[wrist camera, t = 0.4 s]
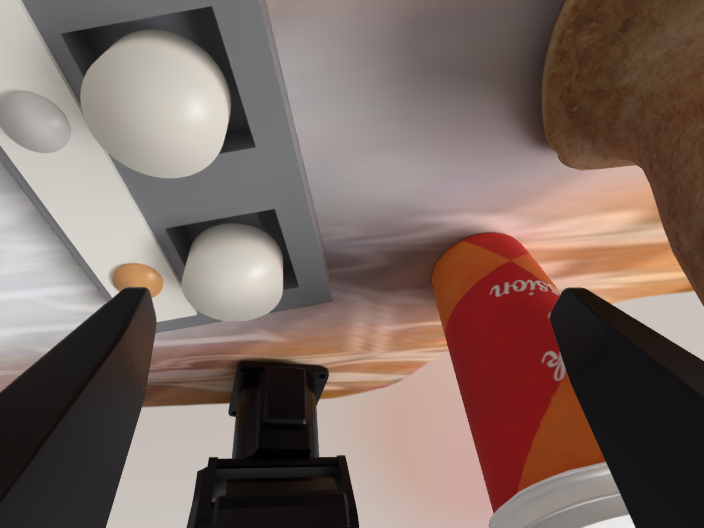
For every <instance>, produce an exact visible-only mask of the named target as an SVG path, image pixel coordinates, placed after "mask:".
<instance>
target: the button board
mask: <svg viewBox="0 0 704 528" xmlns="http://www.w3.org/2000/svg"><path fill="white" fill-rule="evenodd" d="M145 29H159V30H165V31H169V32H173V33H176V34H179V35H181V36H183V37H185V38H187V39H189V40H191V41H192V42H194V43H196V44H197V45H198V46H200V47H201V48H202V49H203V50H205V51H206V52H207V53H208V54H209V55H210V56H211V57H212V59H213V60H214V61H215V62H216V63H217V65H218V66H219V68H220V69H221V71H222V73H223V75H224V77H225V79H226V81H227V84H228V87H229V91H230V96H231V113H230V118H229V123H228V127H227V131H226V135H225V139H224V143H223V146H222V148H221V150H220V152H219V154H218V156H217V157H216V158H215V160H214V161H213V162H212V163H211V164H210V165H209V166H207V167H206V168H205V169H203V170H201V171H200V172H198V173H195V174H193V175H190V176H186V177H181V178H158V177H153V176H148V175H145V174H142V173H139V172H137V171H135V170H132V169H130V168H128V167H127V166H125V165H123V164H122V163H120V162H119V161H117V160H116V159H114V158H113V157H112V156H111V155H110V154H108V153H107V152H106V151H105V150H104V149H103V148H102V147H101V146H100V144H99V143H98V142H97V141H96V139H95V138H94V136H93V135H92V133H91V132H90V130H89V128H88V126H87V124H86V122H85V119H84V116H83V113H82V108H81V99H80V94H81V86H82V82H83V79H84V77H85V75H86V72H87V71H88V69H89V68H90V67H91V65H92V64H93V63H94V62H95V61H96V60H97V59H98V58H99V57H100V56H101V55H102V54H104V53H105V52H106V51H107V50H108V49H109V48H110V47H111V46H112V45H113V44H114V43H115V42H116V41H117V40H119V39H120V38H122V37H123V36H125V35H127V34H129V33H131V32H135V31H139V30H145ZM0 160H1V161H2V162H3V164H4V165H5V166H6V168H7V169H8V170H9V172H10V173H11V174H12V176H13V177H14V178H15V180H16V181H17V182H18V184H19V185H20V186H21V188H22V189H23V190H24V192H25V193H26V194H27V196H28V197H29V198H30V200H31V201H32V202H33V204H34V205H35V206H36V208H37V209H38V210H39V212H40V213H41V214H42V216H43V217H44V218H45V220H46V221H47V222H48V223H49V225H50V226H51V227H52V229H53V230H54V231H55V233H56V234H57V235H58V237H59V238H60V239H61V241H62V242H63V243H64V245H65V246H66V247H67V249H68V250H69V251H70V253H71V254H72V255H73V257H74V258H75V259H76V261H77V262H78V263H79V265H80V266H81V267H82V269H83V270H84V271H85V273H86V274H87V275H88V277H89V278H90V279H91V281H92V282H93V283H94V284H95V286H96V287H97V288H98V290H99V291H100V292H101V294H102V295H103V296H104V298H105V299H106V300H107V302H108V301H109V300H110V299H112V298H113V297H114V296H115V295H116V294H118V293H119V292H120V291H121V290H122V289H124V288H126V287H146V288H148V289H149V291H150V293H151V297H152V301H153V305H154V309H155V313H156V320H157V324H156V332H155V333H158V332H164V331H170V330H175V329H181V328H187V327H192V326H198V325H203V324H209V323H215V322H220V321H222V320H217V319H214V318H211V317H209V316H206V315H204V314H202V313H200V312H199V311H197V310H196V309H195V308H194V307H192V306H191V305H190V303H189V302H188V301H187V299H186V298H185V296H184V294H183V291H182V277H183V274H184V270H185V266H186V262H187V258H188V255H189V251H190V247H191V245H192V243H193V241H194V240H195V238H196V237H197V236H198V235H199V234H200V233H202V232H203V231H205V230H206V229H208V228H210V227H213V226H216V225H220V224H227V223H238V224H245V225H250V226H253V227H256V228H258V229H260V230H262V231H264V232H266V233H267V234H268V235H270V236H271V237H272V238H273V239H274V240H275V241H276V242H277V244H278V245H279V247H280V249H281V252H282V255H283V292H282V297H281V299H280V301H279V303H278V304H277V306H276V307H275V308H274V309H273V310H271V311H270V312H269V313H271V312H276V311H282V310H288V309H293V308H299V307H305V306H310V305H316V304H321V303H327V302H332V296H331V286H330V277H329V270H328V265H327V261H326V257H325V253H324V248H323V244H322V240H321V236H320V231H319V227H318V223H317V219H316V214H315V210H314V206H313V202H312V197H311V193H310V189H309V185H308V180H307V176H306V172H305V168H304V163H303V159H302V155H301V151H300V146H299V142H298V138H297V134H296V130H295V125H294V121H293V117H292V113H291V108H290V104H289V100H288V96H287V91H286V87H285V83H284V79H283V74H282V70H281V66H280V62H279V57H278V53H277V49H276V45H275V40H274V36H273V32H272V28H271V23H270V19H269V15H268V11H267V6H266V2H265V0H0Z"/></svg>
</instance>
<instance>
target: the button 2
mask: <svg viewBox="0 0 704 528" xmlns="http://www.w3.org/2000/svg"><path fill="white" fill-rule="evenodd" d="M182 291H183V294H184V296H185V298H186V299H187V301H188V302H189V303H190V305H191V306H192V307H194V308H195V309H196V310H197V311H199V312H200V313H202V314H204V315H206V316H209V317H211V318H214V319H217V320H222V321H229V322H242V321H249V320H253V319H256V318H259V317H262V316H264V315H266V314H267V313H269V312H270V311H271V310H273V309H274V308H275V307H276V306H277V304H278V303H279V301H280V299H281V297H282V292H283V255H282V252H281V249H280V247H279V245H278V244H277V242H276V241H275V240H274V239H273V238H272V237H271V236H270V235H268V234H267V233H266V232H264V231H262V230H260V229H258V228H256V227H253V226H250V225H245V224H238V223H227V224H220V225H216V226H213V227H210V228H208V229H206V230H205V231H203V232H202V233H200V234H199V235H198V236H197V237H196V238H195V240H194V241H193V243H192V245H191V247H190V251H189V255H188V258H187V262H186V266H185V270H184V274H183V277H182Z"/></svg>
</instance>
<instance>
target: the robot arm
mask: <svg viewBox="0 0 704 528" xmlns="http://www.w3.org/2000/svg"><path fill="white" fill-rule="evenodd" d="M550 323H551V326H552V330H553V333H554V336H555V339H556V342H557V345H558V348H559V351H560V354H561V357H562V360H563V363H564V366H565V369H566V372H567V375H568V377H569V380H570V383H571V385H572V388H573V390H574V392H575V394H576V397H577V399H578V401H579V403H580V406H581V408H582V410H583V412H584V415H585V417H586V419H587V421H588V423H589V426H590V428H591V430H592V432H593V435H594V437H595V439H596V441H597V444H598V446H599V448H600V450H601V452H602V455H603V457H604V459H605V461H606V464H607V466H608V468H609V470H610V473H611V475H612V477H613V479H614V481H615V484H616V486H617V488H618V490H619V493H620V495H621V497H622V499H623V502H624V504H625V506H626V508H627V510H628V513H629V515H630V517H631V519H632V522H633V524H634V526H635V528H704V361H703V360H701V359H699V358H698V357H696V356H695V355H693V354H691V353H690V352H688V351H686V350H685V349H683V348H682V347H680V346H678V345H677V344H675V343H673V342H672V341H670V340H669V339H667V338H665V337H664V336H662V335H660V334H659V333H657V332H655V331H654V330H652V329H651V328H649V327H647V326H646V325H644V324H642V323H641V322H639V321H638V320H636V319H634V318H632V317H631V316H629V315H628V314H626V313H624V312H623V311H621V310H620V309H618V308H616V307H615V306H613V305H611V304H610V303H608V302H607V301H605V300H603V299H602V298H600V297H598V296H597V295H595V294H594V293H592V292H590V291H589V290H587V289H585V288H566V289H565V290H563V291H562V293H561V295H560V297H559V298H558V300H557V302H556V304H555V305H554V307H553V309H552V311H551V313H550ZM156 324H157V320H156V313H155V309H154V305H153V301H152V297H151V293H150V291H149V289H148V288H146V287H126V288H124V289H122V290H121V291H120V292H119V293H118V294H116V295H115V296H114V297H113V298H112V299H110V300H109V301H108V302H107V303H106V304H105V305H103V306H102V307H101V308H100V309H99V310H97V311H96V312H95V313H94V314H93V315H91V316H90V317H89V318H88V319H87V320H85V321H84V322H83V323H82V324H81V325H80V326H78V327H77V328H76V329H75V330H74V331H72V332H71V333H70V334H69V335H68V336H66V337H65V338H64V339H63V340H62V341H61V342H59V343H58V344H57V345H56V346H55V347H53V348H52V349H51V350H50V351H49V352H47V353H46V354H45V355H44V356H43V357H41V358H40V359H39V360H38V361H37V362H36V363H34V364H33V365H32V366H31V367H30V368H28V369H27V370H26V371H25V372H24V373H22V374H21V375H20V376H19V377H18V378H16V379H15V380H14V381H13V382H12V383H11V384H9V385H8V386H7V387H6V388H5V389H3V390H2V391H1V392H0V528H106V525H107V521H108V518H109V515H110V512H111V508H112V505H113V501H114V498H115V495H116V491H117V488H118V485H119V481H120V478H121V475H122V471H123V468H124V465H125V461H126V458H127V455H128V451H129V448H130V445H131V441H132V438H133V435H134V431H135V428H136V424H137V421H138V418H139V414H140V411H141V408H142V404H143V400H144V396H145V391H146V386H147V380H148V374H149V368H150V362H151V356H152V350H153V344H154V338H155V332H156ZM328 377H329V373H328V369H326V368H322V367H309V366H296V365H283V364H270V363H257V362H240V363H239V364H238V365H237V370H236V375H235V380H234V385H233V390H232V395H231V401H230V406H229V415H230V416H234V417H236V422H235V431H234V442H233V452H232V459H218V457H209V461H208V467H206V468H204V469H202V470H200V471H198V472H197V479H196V485H195V491H194V497H193V502H192V507H191V511H190V515H189V520H188V524H187V528H359V521H358V514H357V509H356V503H355V499H354V495H353V490H352V485H351V481H350V475H349V471H348V466H347V462H346V457H345V456H344V455H340V456H337V457H319V445H318V427H317V410H316V406H317V403H318V401H319V398H320V396H321V394H322V391H323V389H324V387H325V384H326V382H327V379H328Z"/></svg>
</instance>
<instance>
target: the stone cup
mask: <svg viewBox="0 0 704 528" xmlns="http://www.w3.org/2000/svg"><path fill="white" fill-rule="evenodd" d="M541 95H542V115H543V125H544V132H545V135H546V138H547V141H548V143H549V144H550V146H551V147H552V148H553V149H554V150H555V152H556V153H557V154H558V158H559V160H560V161H561V162H562V163H563V164H565V165H566V166H568V167H571V168H575V169H579V170H592V169H604V168H613V167H622V166H632V165H637V166H639V167H640V168H642V169H643V171H644V173H645V175H646V177H647V179H648V181H649V183H650V186H651V189H652V192H653V195H654V198H655V201H656V205H657V208H658V211H659V215H660V218H661V221H662V224H663V228H664V230H665V233H666V235H667V238H668V241H669V243H670V246H671V249H672V251H673V253H674V255H675V257H676V259H677V261H678V262H679V264H680V266H681V268H682V270H683V271H684V273H685V275H686V276H687V278H688V280H689V282H690V283H691V285H692V287H693V289H694V290H695V292H696V294H697V296H698V298H699V299H700V301H701V303H702V304H703V306H704V0H566V1H565V3H564V4H563V7H562V9H561V11H560V13H559V16H558V18H557V20H556V22H555V26H554V29H553V32H552V36H551V39H550V43H549V47H548V51H547V55H546V59H545V63H544V70H543V77H542V91H541Z"/></svg>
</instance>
